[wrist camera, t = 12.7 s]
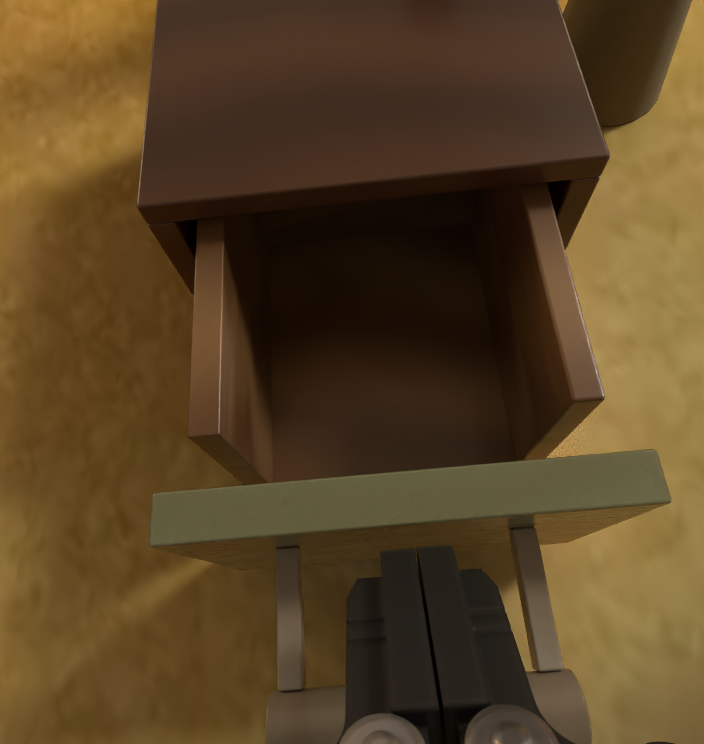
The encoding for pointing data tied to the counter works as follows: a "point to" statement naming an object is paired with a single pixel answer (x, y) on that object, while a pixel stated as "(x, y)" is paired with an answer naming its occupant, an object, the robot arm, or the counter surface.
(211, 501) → the drawer
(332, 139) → the cabinet
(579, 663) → the counter surface
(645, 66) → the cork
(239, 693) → the counter surface
